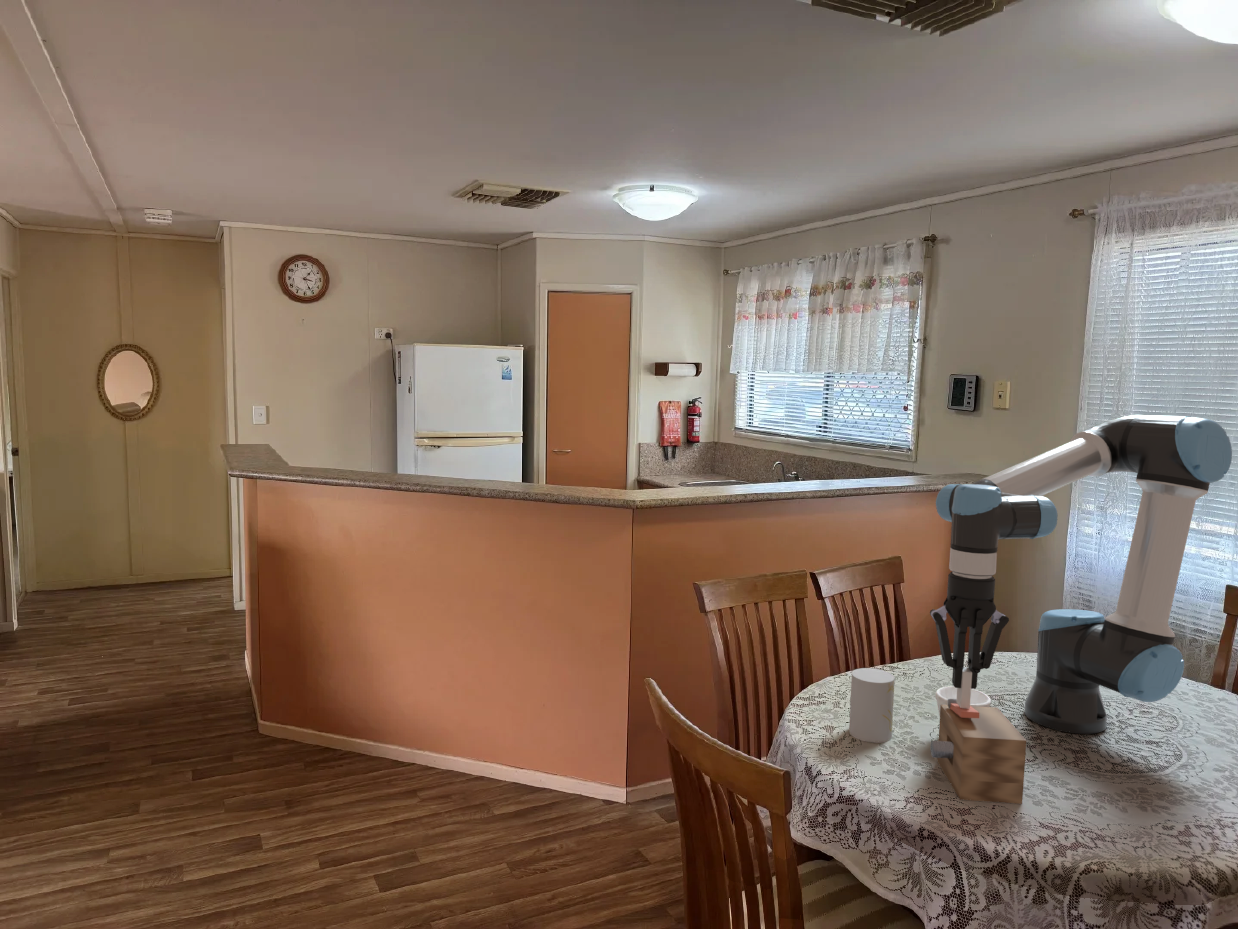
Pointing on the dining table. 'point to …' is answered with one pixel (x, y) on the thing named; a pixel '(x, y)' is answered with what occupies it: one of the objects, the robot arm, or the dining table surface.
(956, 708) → the keeper tab
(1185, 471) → the robot arm
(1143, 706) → the dining table surface
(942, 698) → the cup
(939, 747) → the hitch pin
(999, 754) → the block
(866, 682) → the cup
